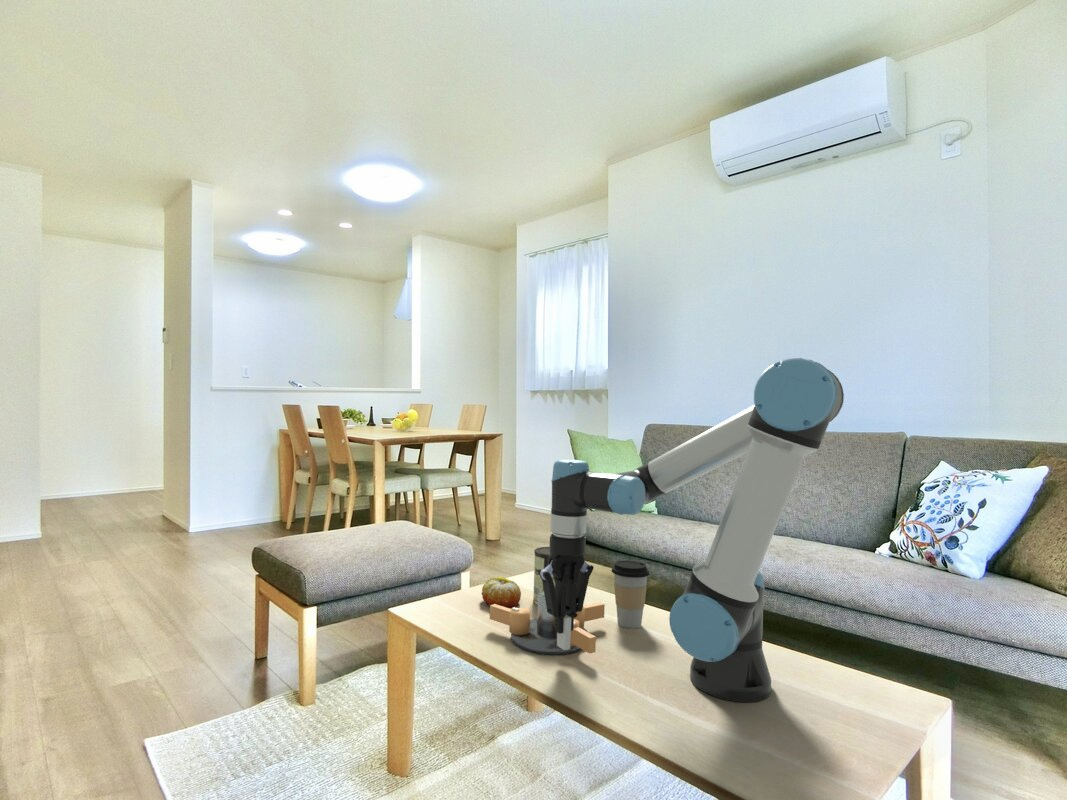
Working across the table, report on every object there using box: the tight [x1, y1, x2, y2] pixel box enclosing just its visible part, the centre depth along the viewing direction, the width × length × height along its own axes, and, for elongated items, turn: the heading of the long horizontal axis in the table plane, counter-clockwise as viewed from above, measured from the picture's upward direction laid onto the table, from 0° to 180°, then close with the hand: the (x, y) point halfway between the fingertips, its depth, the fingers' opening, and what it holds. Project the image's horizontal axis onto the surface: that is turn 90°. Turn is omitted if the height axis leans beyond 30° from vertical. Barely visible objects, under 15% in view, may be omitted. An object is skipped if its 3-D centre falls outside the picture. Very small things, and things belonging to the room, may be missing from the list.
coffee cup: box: [611, 559, 650, 629], centre depth 142 cm, size 9×9×15 cm
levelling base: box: [510, 591, 589, 657], centre depth 131 cm, size 18×18×11 cm
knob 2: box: [574, 601, 606, 629], centre depth 136 cm, size 11×5×5 cm, turn 123°
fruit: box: [481, 576, 522, 609], centre depth 155 cm, size 11×10×8 cm
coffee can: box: [532, 546, 555, 606], centre depth 157 cm, size 10×10×14 cm
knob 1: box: [489, 604, 532, 635], centre depth 132 cm, size 11×5×5 cm, turn 53°
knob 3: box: [570, 619, 597, 654], centre depth 122 cm, size 11×5×5 cm, turn 33°
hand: (563, 647), depth 118 cm, fingers closed
